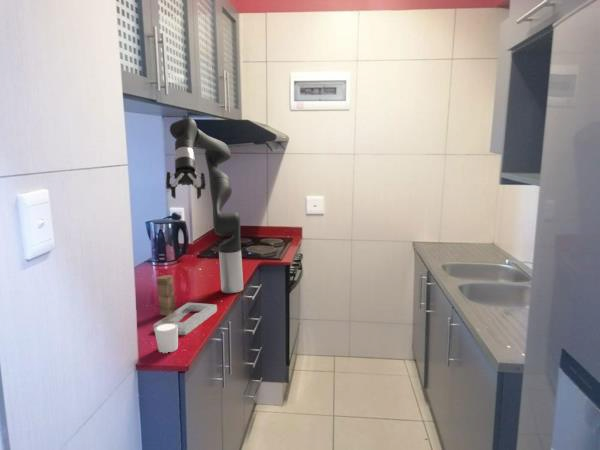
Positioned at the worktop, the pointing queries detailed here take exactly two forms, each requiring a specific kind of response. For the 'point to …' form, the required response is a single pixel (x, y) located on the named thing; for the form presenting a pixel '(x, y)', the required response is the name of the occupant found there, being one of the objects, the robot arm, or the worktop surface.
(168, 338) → the white tapered cup
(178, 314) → the keyhole plate
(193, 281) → the worktop surface
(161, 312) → the walnut post
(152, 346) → the worktop surface
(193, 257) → the worktop surface
